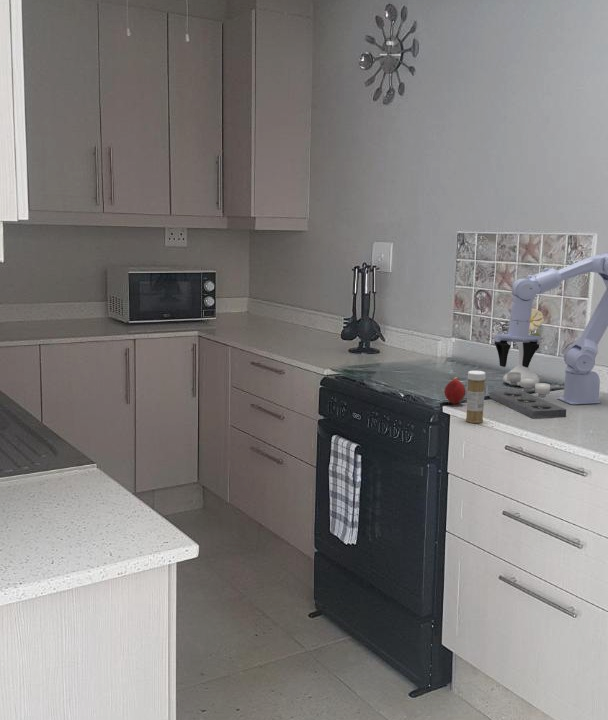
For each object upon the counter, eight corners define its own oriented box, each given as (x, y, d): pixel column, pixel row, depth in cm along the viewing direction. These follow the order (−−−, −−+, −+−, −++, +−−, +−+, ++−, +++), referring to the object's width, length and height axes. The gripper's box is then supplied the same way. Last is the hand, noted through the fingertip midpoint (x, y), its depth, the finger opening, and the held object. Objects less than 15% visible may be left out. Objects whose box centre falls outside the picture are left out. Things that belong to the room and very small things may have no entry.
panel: (520, 396, 251) (520, 389, 250) (565, 416, 227) (566, 409, 226) (489, 397, 248) (490, 391, 248) (532, 418, 224) (533, 411, 224)
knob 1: (516, 382, 247) (516, 371, 246) (522, 385, 243) (523, 374, 242) (503, 383, 246) (504, 372, 245) (510, 386, 242) (511, 374, 241)
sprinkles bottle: (477, 418, 223) (479, 369, 221) (486, 423, 219) (489, 372, 217) (462, 420, 222) (464, 370, 219) (471, 424, 218) (473, 373, 215)
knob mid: (529, 388, 239) (530, 377, 238) (537, 391, 235) (537, 379, 235) (517, 389, 238) (518, 377, 237) (524, 392, 234) (525, 380, 234)
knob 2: (544, 394, 231) (545, 382, 231) (552, 397, 228) (553, 385, 227) (531, 395, 230) (532, 383, 230) (539, 398, 227) (539, 386, 226)
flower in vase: (495, 383, 269) (499, 306, 264) (519, 379, 275) (523, 304, 271) (526, 391, 258) (531, 310, 254) (551, 386, 264) (556, 308, 260)
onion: (458, 407, 235) (460, 380, 234) (440, 404, 239) (441, 377, 237) (468, 404, 240) (469, 376, 238) (450, 401, 243) (451, 374, 242)
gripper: (533, 319, 247) (527, 364, 249) (490, 317, 242) (485, 363, 244) (547, 323, 240) (541, 369, 242) (503, 321, 235) (497, 368, 238)
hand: (513, 366), depth 243 cm, fingers open, 7 cm apart
